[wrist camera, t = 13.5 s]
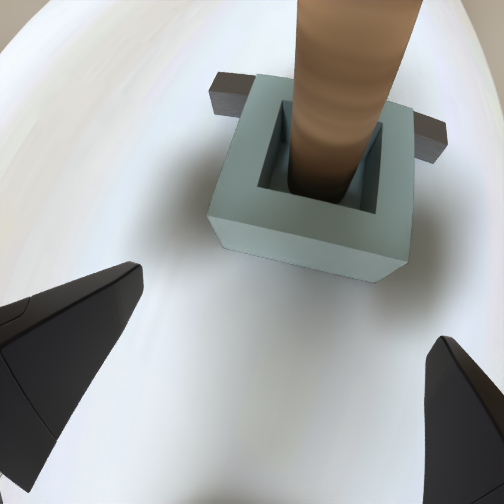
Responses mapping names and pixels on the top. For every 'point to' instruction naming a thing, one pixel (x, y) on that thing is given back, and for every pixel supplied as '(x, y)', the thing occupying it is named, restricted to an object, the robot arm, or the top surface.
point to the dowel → (341, 87)
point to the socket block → (310, 210)
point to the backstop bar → (239, 85)
